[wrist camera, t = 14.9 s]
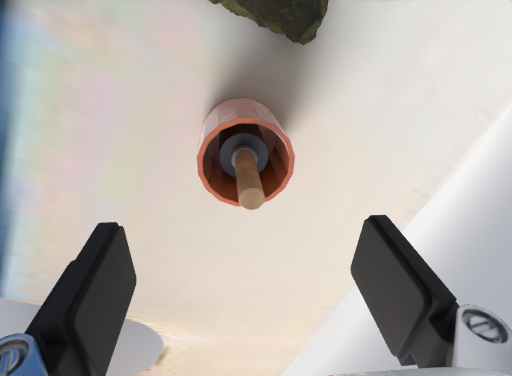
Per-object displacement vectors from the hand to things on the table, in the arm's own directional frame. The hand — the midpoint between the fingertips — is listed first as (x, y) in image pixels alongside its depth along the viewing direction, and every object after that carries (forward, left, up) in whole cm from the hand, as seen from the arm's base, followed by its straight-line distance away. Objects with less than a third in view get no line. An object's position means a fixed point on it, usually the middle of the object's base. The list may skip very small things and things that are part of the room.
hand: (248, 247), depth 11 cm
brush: (-1, +4, -22) cm, 23 cm away
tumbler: (-1, +4, -23) cm, 23 cm away
